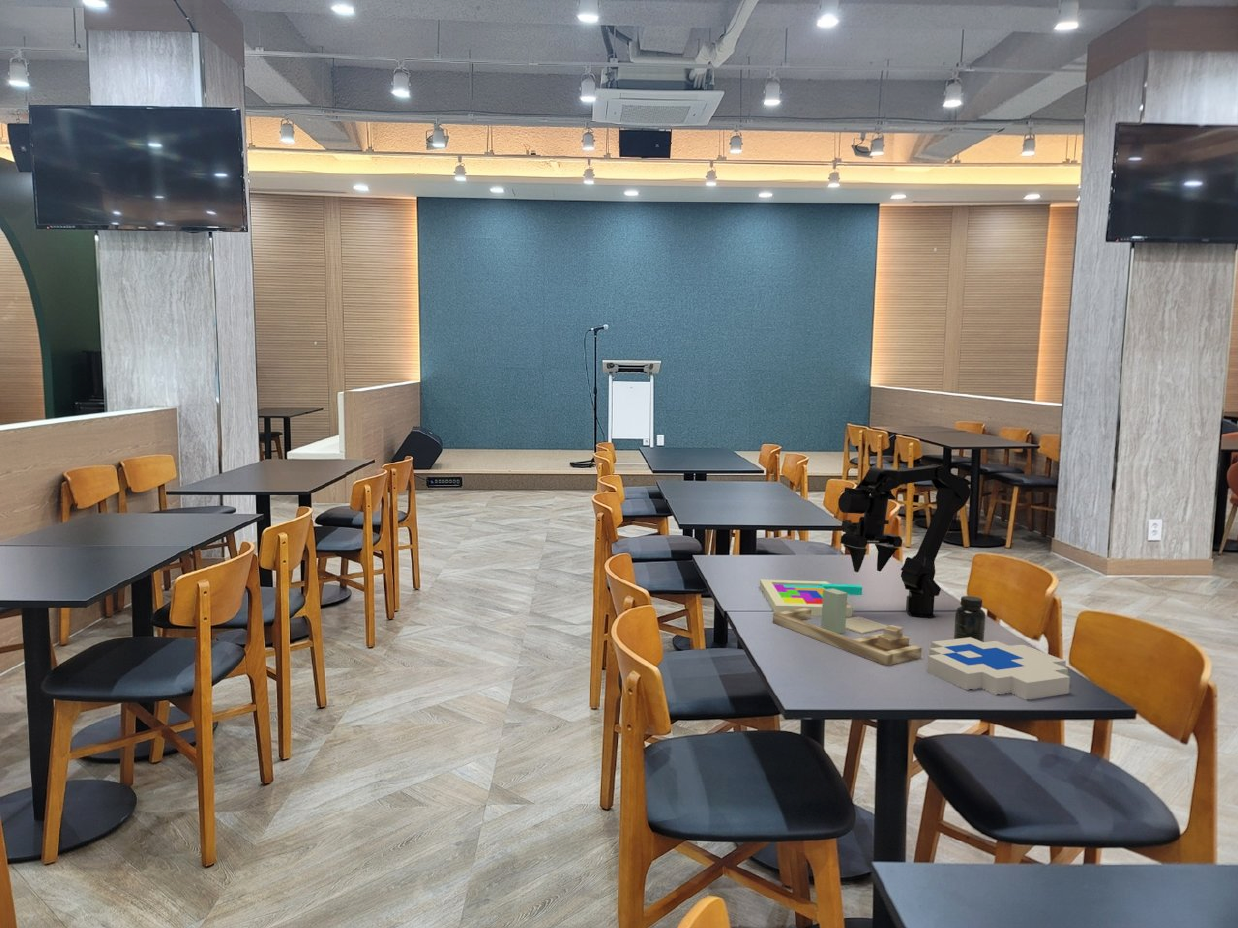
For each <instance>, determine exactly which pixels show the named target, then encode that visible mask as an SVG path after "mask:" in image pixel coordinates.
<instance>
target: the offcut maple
mask: <svg viewBox="0 0 1238 928" xmlns="http://www.w3.org/2000/svg"><path fill="white" fill-rule="evenodd" d="M887 626H888V627H886V628H884V630H883V633H882V634H883V637H885V638H890V639H895V640H896V639H898V638H899V637H901V636H902V635H904V633H903V632H904V627H901V626H898V625H892V624H890V625H887Z"/></svg>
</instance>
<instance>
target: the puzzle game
mask: <svg viewBox="0 0 1238 928" xmlns="http://www.w3.org/2000/svg"><path fill="white" fill-rule="evenodd" d="M759 588H760V590H761V592H762V591H763V592H762V593H764V594H763V595H764V597H765V598H767V599H766V601H767V600H768V601H767V602H768V604H769V606H770V607H771V609H772V611H773V613H777V612H783V611H789V610H795V609H801V608H808V609H811V617H813V616H815V617H816V616H817V617H818V616H819V617H822V604H823V590H826V589H832V588H833V589H836V590H840V591H843V592H846V593H847V594H849V595H848V596H862V594H863V586H862V585H861V584H848V583H846V584H845V583H843V584H841V583H839V584H838V583H830V582H829V581H825V580H824V581H823V580H820V581H819V580H818V581H817V580H795V579H794V580H792V579H790V580H789V579H786V580H785V579H761V578H759ZM852 617H853V607H852V605H850V603H849V602H848V601H847V609H846V618H852Z"/></svg>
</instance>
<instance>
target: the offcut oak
mask: <svg viewBox="0 0 1238 928" xmlns="http://www.w3.org/2000/svg"><path fill="white" fill-rule="evenodd" d="M878 644H880V645H882V646H885V647H887V648H889V649H891V648H898V647H904V646H909V645H910V637H909V636H906V635H904V634H903V635H902V636H901V637H899V638H898V639H896V640H895V639H890V638H885V637H883V635H879V636H878Z"/></svg>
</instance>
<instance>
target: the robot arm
mask: <svg viewBox="0 0 1238 928" xmlns="http://www.w3.org/2000/svg"><path fill="white" fill-rule="evenodd" d="M867 470H868V471H866V473H865V475H864V477H863V478H862V479H861V481H860V482H859V483H858V484H857V486H856V487H855V488H851V487H845V488H844V491H842V493H841V494H840V496H839V498H838V502H837V503H838V504H837V505H838V509H839V511H840V512H841V513H843V514H859V515H863V516H860V517H859V519H858V521H857V522H853V521H852V520H851V519H845V520H842V523H841V531H842V535H841V536H840V542H839V543H840V544H842V545H843V547H844V548H846V549H847V551H849V555H850V557H851V563H852V567H853V572H854V573H859V571H860V570H861V567H862V564H863V562H864V559H865V556H866V554H867V549H868V548H865V547H866V546H867V545H871V544H873V545H875V547H876V550H877V557H876V559H877V561H876V571H878V572H882V570H883V569H884V568H885V566H886V565H887V563H888V561H889V560H890V558H892V556H893V555H894V554H895V552H896V551H898V550H899V548H902V547H903V546H902V545H903V539H902V537H901V536H900V535H896V534H890V533H886V532H885V527H886V525H889V524H890V520H889V519H887V511H888V505H889V500H893V501H895V500H896V497H895V495H894V494H893V493H892V490H895V489H898V488H899V487H900V486H901V485H907V484H914V483H922V482H929V481H930V482H931V485H932V486H933V487H934V489H935V490H936V495H935V501H936V509H935V511H934V513H933V515H932V518H931V520H930V523H929V525H928V527H927V528H926V529H927V530H926V532H925V534H924V536H923V539H922V541H921V543H920V546H919V548H918V551H917V553H916V554H915V555H914V556H913V557H909V556H907V557H905V560H904V563H903V566H902V567H901V568H900V571H901V573H900V577H901V580H902V583H903V585H904V588H905V590H907V591H908V595H907V596H906V600H905V601H906V603H905V604H906V605H905V611H907V613H908V615H910V616H911V617H918V618H919V617H923V618H935V617H936V615H935V614H934V609H935V597H938V596H940V593H941V590H942V589H941V586H940V585H939V584H938V582H936V580H934V579H935V576H936V575H935V574H936V566H935V561H936V558H937V556H938V554H939V551H940V550H941V549H940V548H941V547H942V545H943V542H944V541H945V538H946V536H947V533H948V530H949V528H950V526H951V523H952V522H953V519H954V516H955V514H957V513H958V512H959V511H960V510H961V509H962V508H964V507H965V505H966V504H967V502H968V501H969V499H970V497H971V495H972V491H971V488H970V486H969V485H968V483H966V482H963V481H962V480H961V479H960V477H958V476H956V475H954V474H953V473H952V472H951V471H949V469H947V467H945V466H944V465H942V464H940V465H939V464H934V463H931V464H929V465H922V466H921V465H920V466H913V467H907V468H899V469H892V468H885V467H884V468H883V467H871V468H869V469H867Z"/></svg>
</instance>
